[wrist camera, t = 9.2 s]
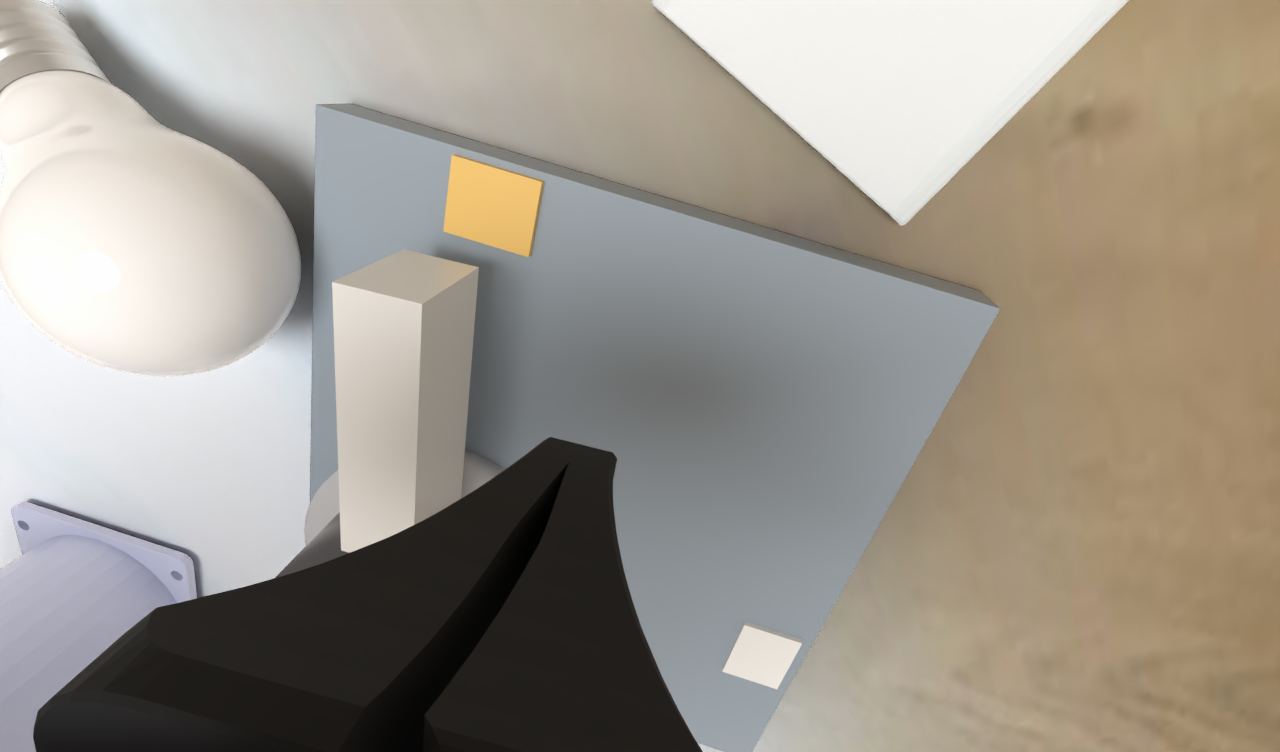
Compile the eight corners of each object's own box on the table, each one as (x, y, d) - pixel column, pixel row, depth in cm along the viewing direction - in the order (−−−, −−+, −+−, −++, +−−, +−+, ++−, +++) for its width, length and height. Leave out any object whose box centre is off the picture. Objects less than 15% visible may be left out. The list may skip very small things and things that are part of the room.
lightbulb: (171, 54, 20) (360, 326, 20) (-51, 130, 18) (162, 435, 18) (54, -131, 14) (321, 254, 14) (-296, -52, 12) (20, 403, 12)
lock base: (747, 723, 25) (747, 785, 23) (331, 587, 25) (291, 634, 23) (979, 291, 16) (1016, 322, 14) (350, 103, 17) (289, 105, 15)
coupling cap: (516, 675, 22) (483, 757, 19) (330, 623, 22) (272, 696, 19) (574, 289, 15) (537, 332, 13) (312, 227, 16) (222, 254, 13)
